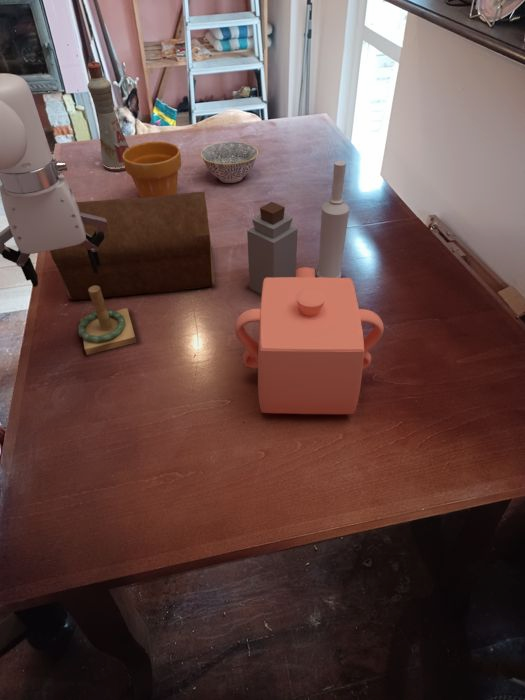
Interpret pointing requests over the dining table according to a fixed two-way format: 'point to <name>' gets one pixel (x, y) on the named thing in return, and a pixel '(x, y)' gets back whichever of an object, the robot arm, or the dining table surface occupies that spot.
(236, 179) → the bowl
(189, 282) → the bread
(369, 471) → the dining table surface
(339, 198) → the bottle
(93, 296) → the stand
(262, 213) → the perfume bottle
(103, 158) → the bottle
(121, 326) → the ring
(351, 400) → the teapot
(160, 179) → the flower pot
